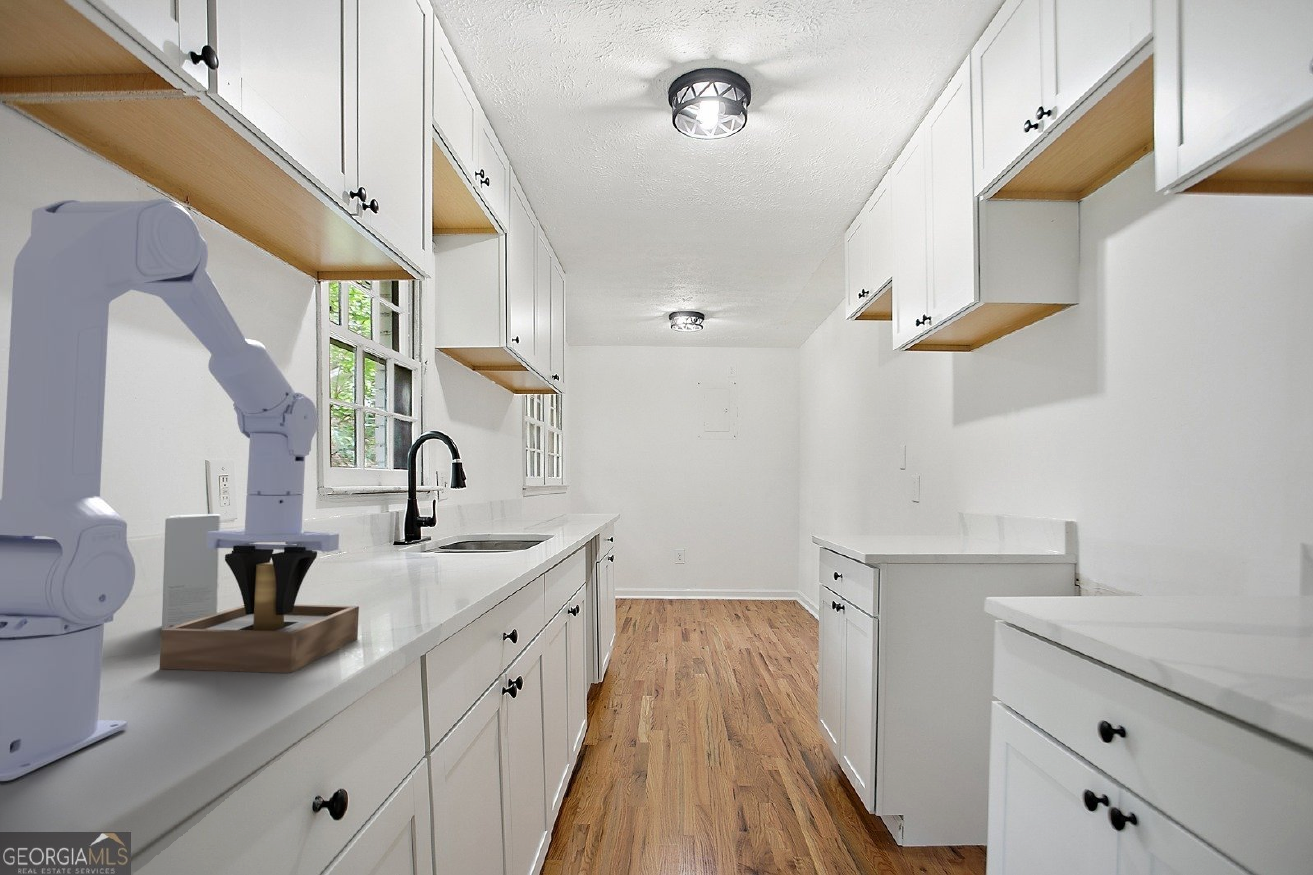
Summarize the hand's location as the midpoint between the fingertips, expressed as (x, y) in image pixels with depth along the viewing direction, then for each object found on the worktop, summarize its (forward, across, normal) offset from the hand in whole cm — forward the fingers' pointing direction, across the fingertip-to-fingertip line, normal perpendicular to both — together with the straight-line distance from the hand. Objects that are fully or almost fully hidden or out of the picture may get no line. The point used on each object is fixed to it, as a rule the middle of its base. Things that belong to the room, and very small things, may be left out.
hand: (269, 612), depth 75 cm
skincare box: (+5, +17, -10) cm, 20 cm away
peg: (+2, 0, 0) cm, 2 cm away
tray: (+4, 0, 0) cm, 4 cm away
